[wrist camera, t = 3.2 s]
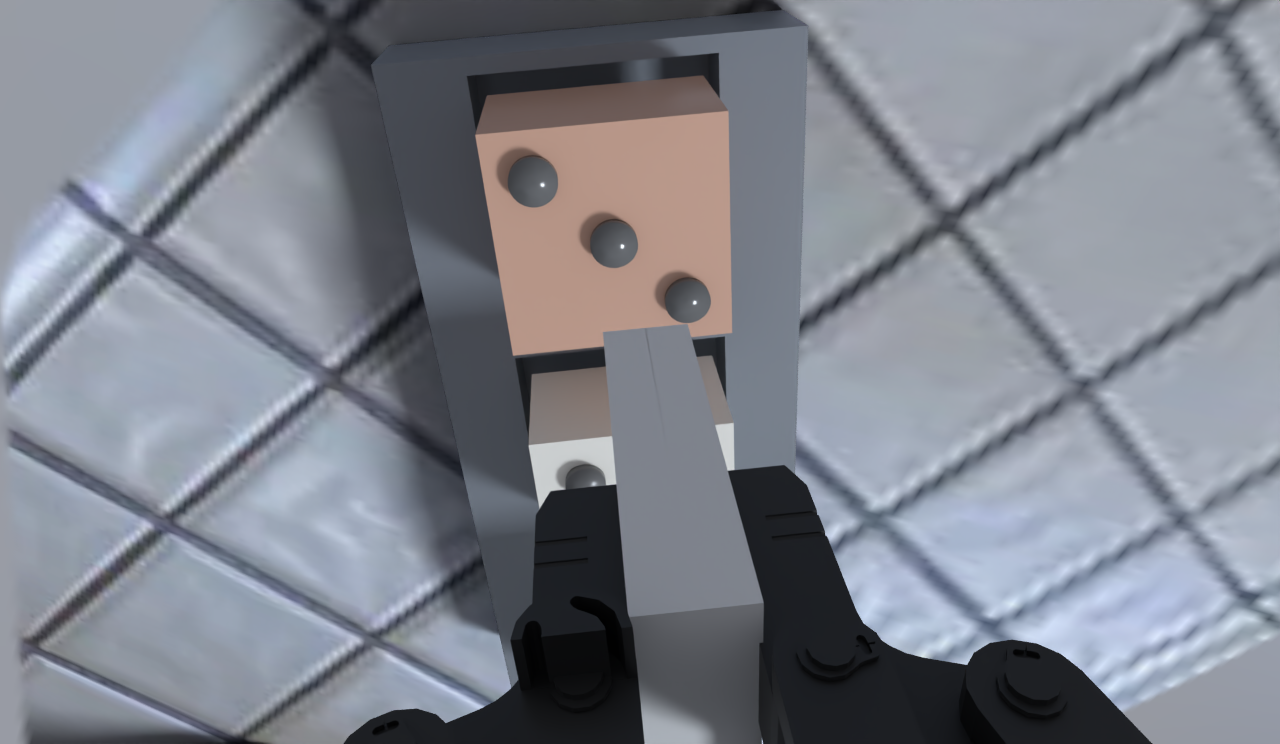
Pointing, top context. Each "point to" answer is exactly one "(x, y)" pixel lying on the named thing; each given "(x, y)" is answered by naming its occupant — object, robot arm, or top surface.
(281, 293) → the top surface
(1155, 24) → the top surface
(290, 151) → the top surface
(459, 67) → the console
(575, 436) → the tile two
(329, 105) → the top surface
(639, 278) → the tile three
